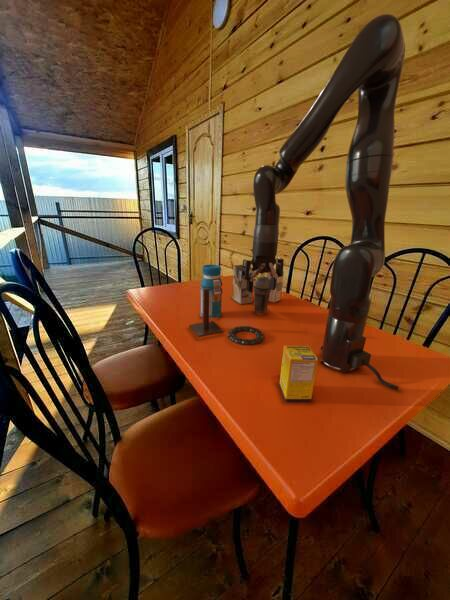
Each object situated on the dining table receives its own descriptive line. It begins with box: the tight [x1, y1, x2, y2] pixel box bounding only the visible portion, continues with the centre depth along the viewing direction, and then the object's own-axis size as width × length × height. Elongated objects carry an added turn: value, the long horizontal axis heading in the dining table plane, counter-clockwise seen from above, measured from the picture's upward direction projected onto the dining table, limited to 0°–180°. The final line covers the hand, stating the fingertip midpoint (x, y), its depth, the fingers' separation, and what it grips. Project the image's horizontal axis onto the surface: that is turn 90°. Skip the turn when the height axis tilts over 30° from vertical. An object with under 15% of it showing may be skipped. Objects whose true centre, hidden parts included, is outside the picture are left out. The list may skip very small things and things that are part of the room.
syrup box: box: [266, 268, 285, 304], centre depth 119 cm, size 6×6×14 cm
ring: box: [227, 325, 265, 346], centre depth 82 cm, size 12×12×2 cm
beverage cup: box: [253, 273, 271, 314], centre depth 101 cm, size 7×7×20 cm
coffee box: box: [231, 264, 254, 305], centre depth 117 cm, size 9×6×16 cm
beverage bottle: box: [199, 264, 223, 319], centre depth 97 cm, size 8×8×20 cm
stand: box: [188, 288, 224, 338], centre depth 84 cm, size 9×9×16 cm
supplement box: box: [278, 345, 319, 402], centre depth 57 cm, size 6×6×11 cm
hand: (261, 290), depth 83 cm, fingers open, 8 cm apart
